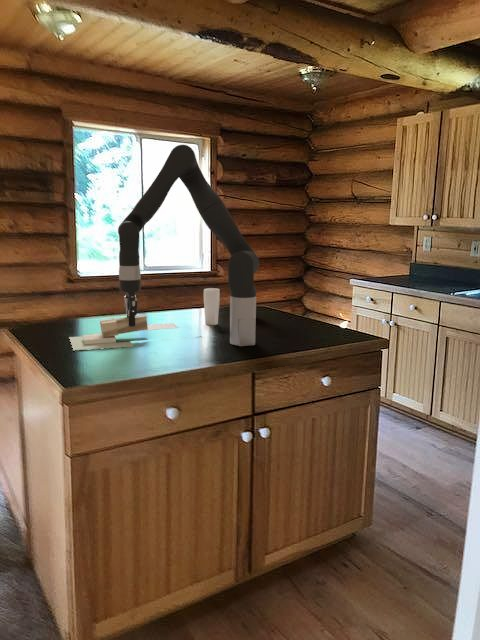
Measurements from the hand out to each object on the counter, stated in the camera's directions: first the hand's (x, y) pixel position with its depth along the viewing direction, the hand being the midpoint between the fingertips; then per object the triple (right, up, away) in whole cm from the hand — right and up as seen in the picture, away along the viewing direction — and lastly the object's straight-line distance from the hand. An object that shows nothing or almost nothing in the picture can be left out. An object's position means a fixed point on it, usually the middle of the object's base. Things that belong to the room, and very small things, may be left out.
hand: (131, 325), depth 189 cm
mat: (-10, -6, -3) cm, 12 cm away
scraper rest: (+3, -2, +19) cm, 20 cm away
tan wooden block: (-2, -2, 0) cm, 3 cm away
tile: (-11, -5, -3) cm, 12 cm away
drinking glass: (+28, 0, +31) cm, 41 cm away
